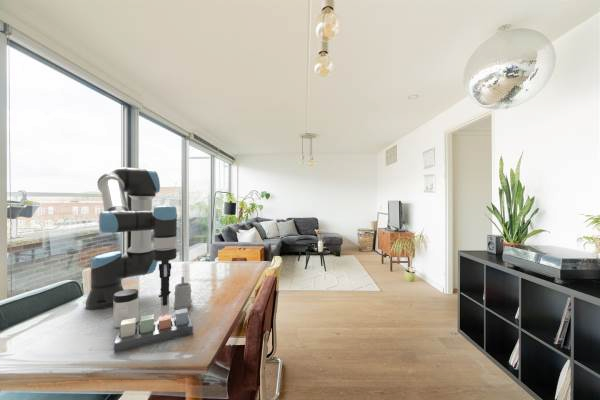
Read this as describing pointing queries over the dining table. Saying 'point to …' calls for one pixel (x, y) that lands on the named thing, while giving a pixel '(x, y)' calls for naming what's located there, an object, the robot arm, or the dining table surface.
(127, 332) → the key ivory
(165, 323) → the key coral
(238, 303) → the dining table surface
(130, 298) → the jar
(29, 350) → the dining table surface
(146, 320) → the key sage
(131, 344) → the key panel
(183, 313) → the key slate
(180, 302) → the mug
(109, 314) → the dining table surface
